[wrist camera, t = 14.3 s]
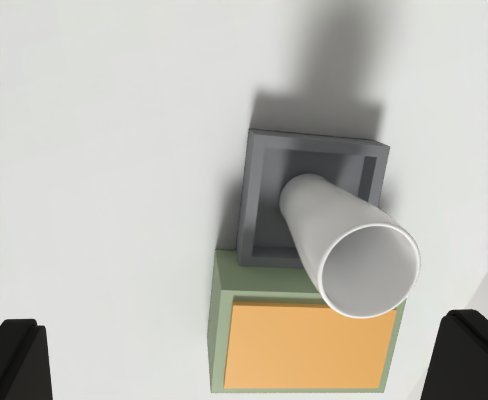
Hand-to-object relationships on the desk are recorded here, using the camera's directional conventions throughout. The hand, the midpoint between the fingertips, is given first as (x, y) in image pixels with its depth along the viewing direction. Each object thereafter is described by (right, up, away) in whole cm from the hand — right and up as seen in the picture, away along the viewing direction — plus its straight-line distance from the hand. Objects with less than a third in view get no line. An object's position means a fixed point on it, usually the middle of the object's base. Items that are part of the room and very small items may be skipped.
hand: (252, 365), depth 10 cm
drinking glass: (+6, +4, +30) cm, 31 cm away
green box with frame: (+5, -1, +32) cm, 33 cm away
